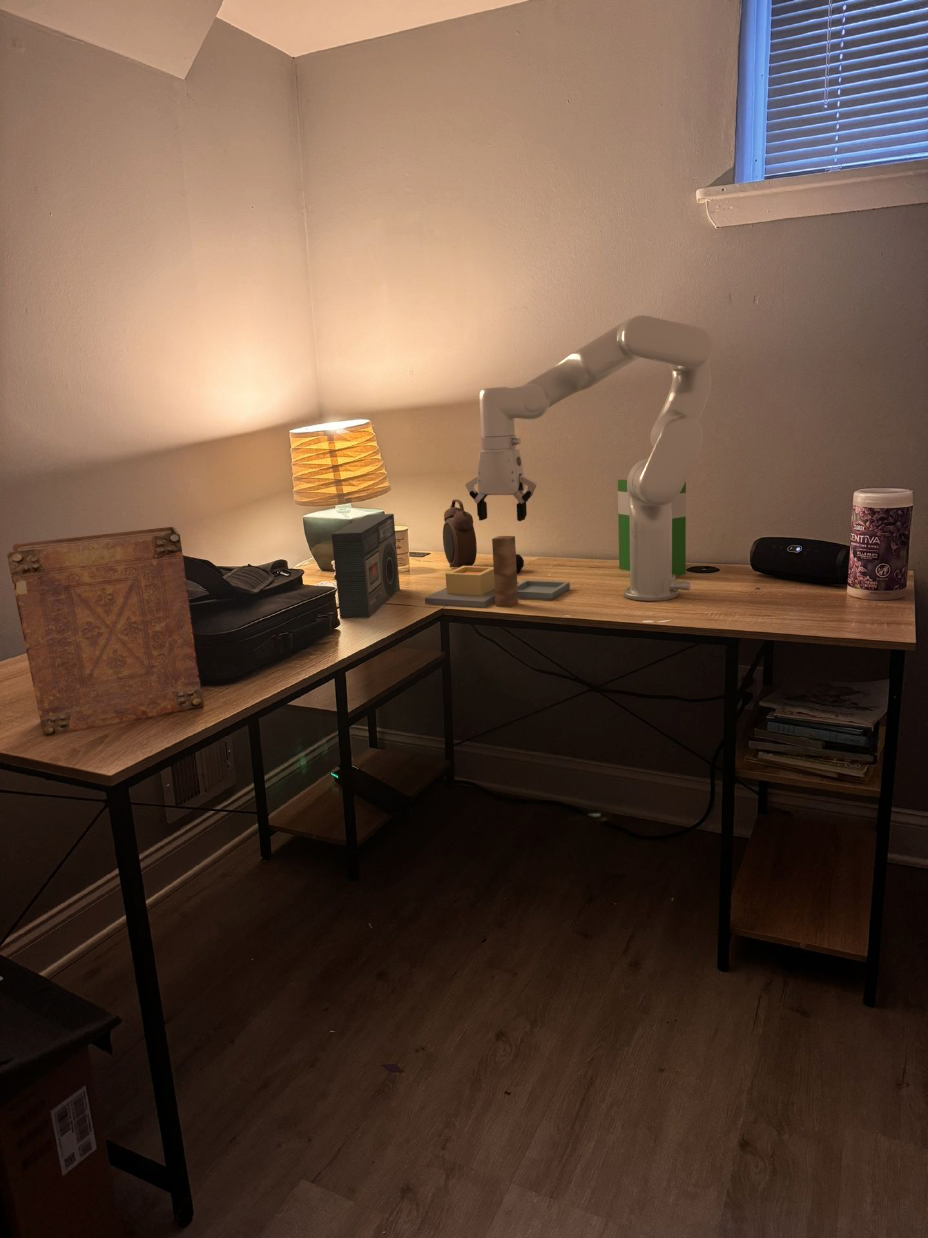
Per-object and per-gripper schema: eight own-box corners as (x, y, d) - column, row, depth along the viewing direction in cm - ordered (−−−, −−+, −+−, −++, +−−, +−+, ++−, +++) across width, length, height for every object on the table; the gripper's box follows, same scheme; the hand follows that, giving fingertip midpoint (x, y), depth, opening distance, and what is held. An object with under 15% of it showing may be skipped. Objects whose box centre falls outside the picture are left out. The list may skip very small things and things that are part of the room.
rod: (518, 603, 203) (515, 536, 199) (511, 607, 200) (507, 539, 196) (502, 602, 205) (499, 535, 201) (495, 606, 202) (492, 538, 198)
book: (41, 737, 137) (4, 552, 130) (45, 719, 146) (10, 544, 138) (205, 707, 146) (179, 532, 139) (199, 691, 155) (175, 526, 147)
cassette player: (369, 618, 199) (360, 532, 194) (340, 619, 200) (331, 533, 195) (399, 589, 226) (393, 513, 221) (374, 590, 228) (367, 514, 222)
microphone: (478, 596, 226) (526, 572, 239) (480, 577, 223) (529, 554, 236) (463, 588, 229) (511, 565, 242) (465, 569, 226) (513, 547, 239)
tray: (569, 589, 214) (569, 582, 213) (552, 600, 204) (551, 593, 203) (525, 586, 219) (525, 579, 219) (505, 597, 209) (505, 590, 209)
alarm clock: (441, 567, 251) (436, 498, 246) (464, 564, 253) (460, 496, 248) (455, 576, 238) (450, 503, 233) (480, 573, 240) (476, 501, 234)
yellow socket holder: (518, 588, 218) (517, 563, 216) (484, 607, 201) (482, 580, 199) (462, 585, 225) (461, 561, 224) (424, 603, 208) (422, 577, 207)
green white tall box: (619, 568, 234) (617, 479, 228) (640, 564, 237) (639, 476, 231) (663, 578, 219) (663, 483, 213) (685, 574, 222) (685, 480, 216)
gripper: (540, 441, 193) (543, 517, 197) (471, 443, 200) (475, 516, 205) (527, 444, 186) (530, 523, 190) (456, 446, 194) (461, 521, 198)
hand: (502, 519), depth 198 cm, fingers open, 9 cm apart
